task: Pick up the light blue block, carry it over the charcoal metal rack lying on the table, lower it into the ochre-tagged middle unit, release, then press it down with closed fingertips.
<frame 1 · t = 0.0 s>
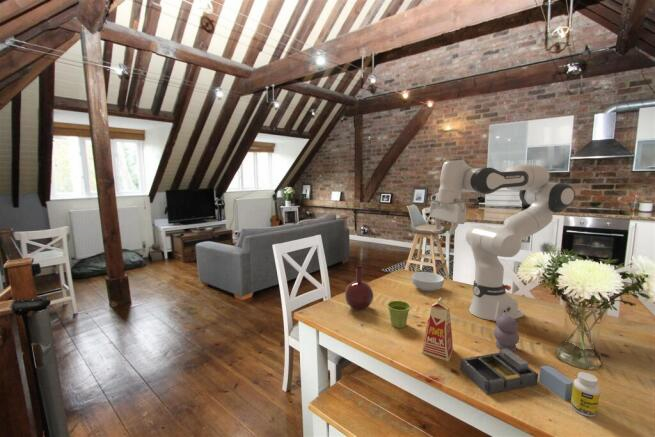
hand: (444, 231, 128), 39 cm above the table, tool pointing down, fingers open, 8 cm apart
supplement bottle: (583, 410, 82), on the table
purple lumpy figurine: (505, 347, 112), on the table
milk carton: (437, 351, 110), on the table
cereal bowl: (427, 289, 169), on the table
round-bottom flask: (359, 308, 145), on the table
plant pot: (398, 325, 129), on the table
light blue block: (555, 389, 90), on the table
rack: (497, 376, 96), on the table
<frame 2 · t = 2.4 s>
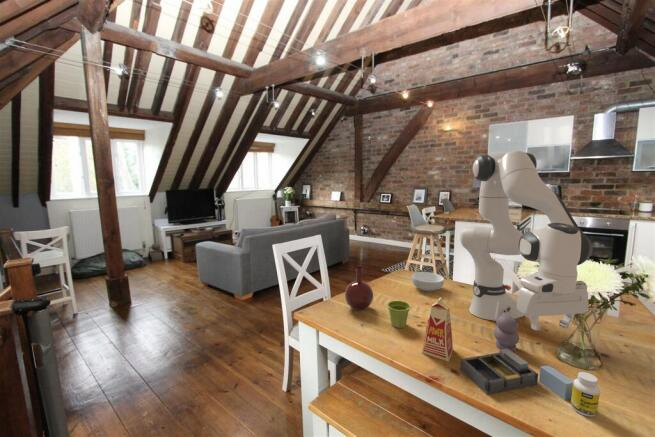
hand: (549, 328, 88), 19 cm above the table, tool pointing down, fingers open, 8 cm apart
nothing on the table moved.
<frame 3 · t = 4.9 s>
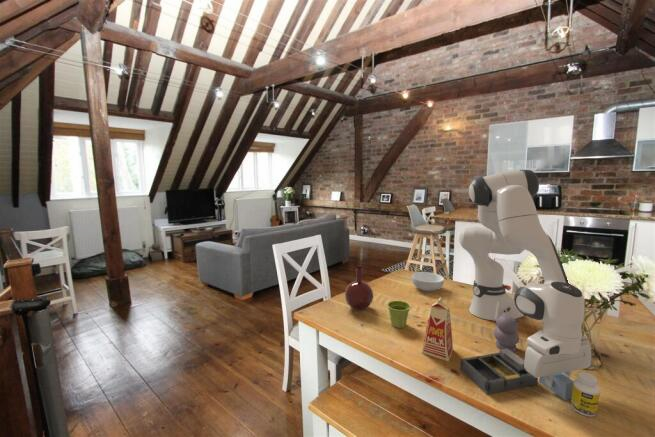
hand: (556, 384, 90), 2 cm above the table, tool pointing down, fingers closed on light blue block, 3 cm apart
light blue block: (555, 389, 90), on the table, touching gripper
everything else where it was.
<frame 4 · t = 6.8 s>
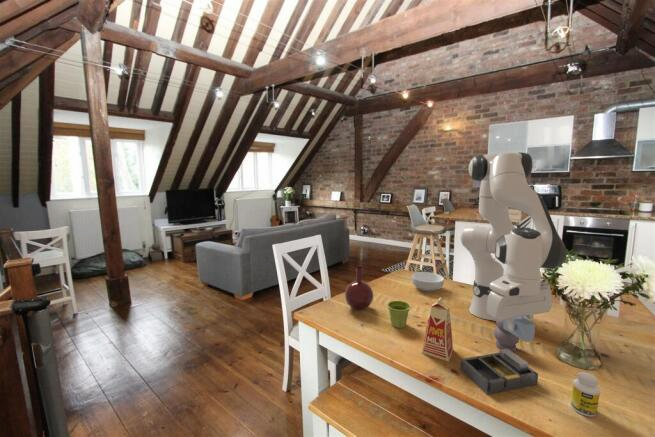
hand: (518, 328, 92), 17 cm above the table, tool pointing down, fingers closed on light blue block, 3 cm apart
light blue block: (518, 333, 92), point 15 cm above the table, touching gripper
everything else where it was.
when the fingers open (5 cm above the table, at t = 9.0 s): light blue block drops 2 cm, resting on rack.
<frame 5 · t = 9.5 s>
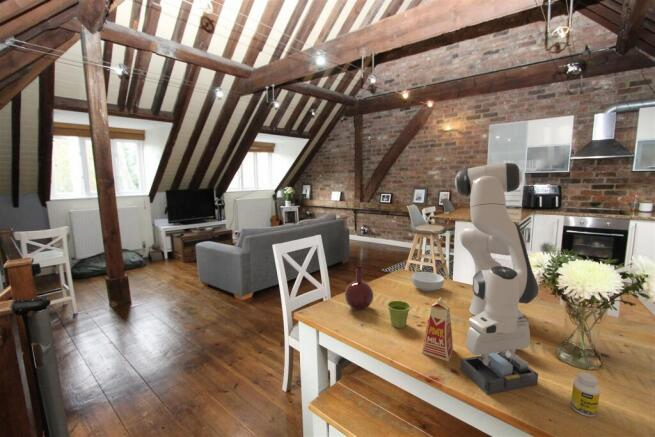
hand: (497, 362, 95), 5 cm above the table, tool pointing down, fingers open, 6 cm apart
light blue block: (497, 373, 96), point 1 cm above the table, touching rack
everything else where it was.
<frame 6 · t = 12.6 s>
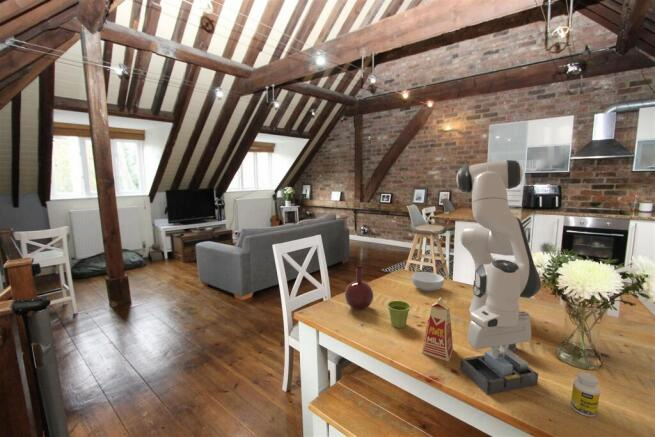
hand: (498, 356, 95), 7 cm above the table, tool pointing down, fingers closed
nothing on the table moved.
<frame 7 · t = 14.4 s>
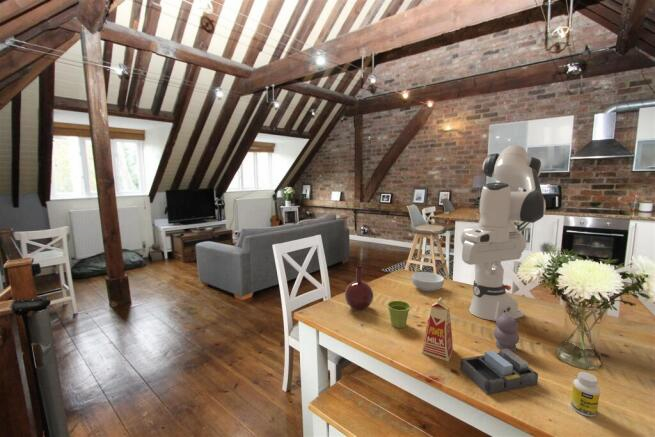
hand: (491, 274, 102), 30 cm above the table, tool pointing down, fingers closed
nothing on the table moved.
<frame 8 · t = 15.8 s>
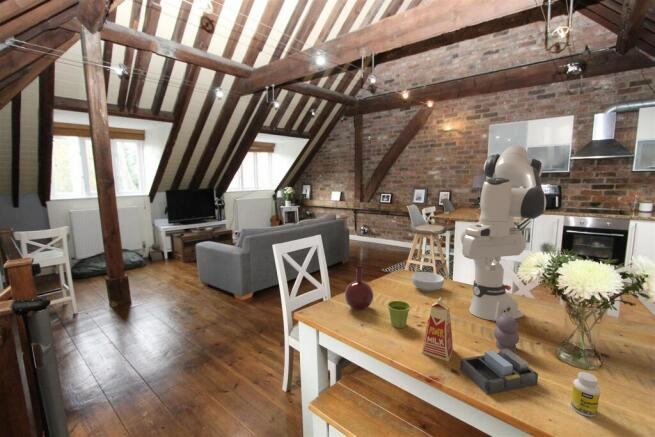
hand: (491, 269, 102), 31 cm above the table, tool pointing down, fingers closed
nothing on the table moved.
at the end: light blue block 0.0 cm off-centre on the rack, point 1.1 cm above the rack's base; light blue block tilted 0°; the gripper is holding nothing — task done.
